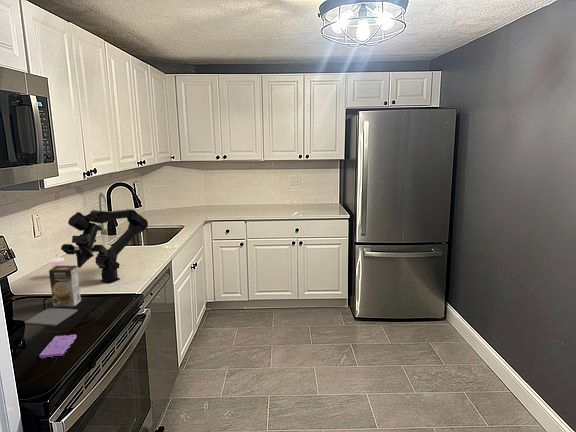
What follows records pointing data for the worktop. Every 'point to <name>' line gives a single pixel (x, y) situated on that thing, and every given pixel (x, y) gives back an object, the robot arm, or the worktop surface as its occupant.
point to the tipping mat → (51, 316)
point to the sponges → (58, 346)
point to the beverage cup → (57, 261)
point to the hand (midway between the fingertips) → (78, 267)
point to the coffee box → (65, 286)
